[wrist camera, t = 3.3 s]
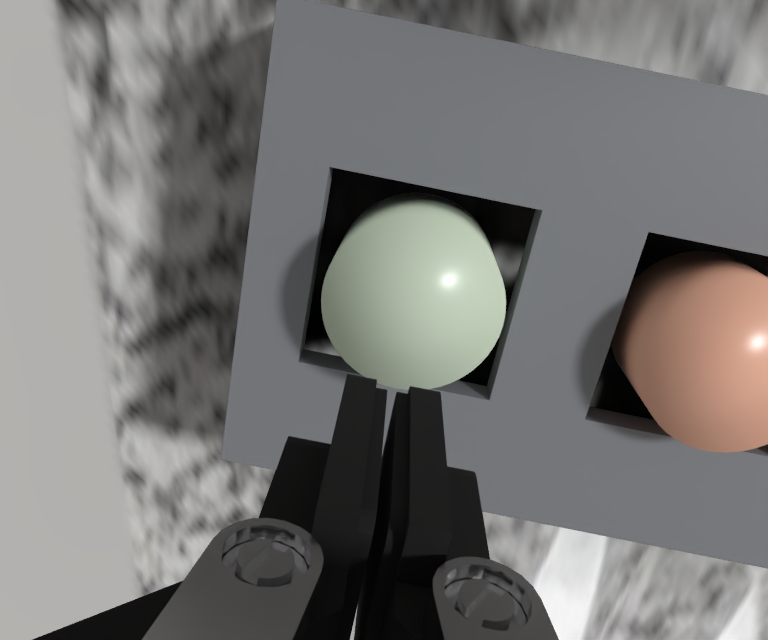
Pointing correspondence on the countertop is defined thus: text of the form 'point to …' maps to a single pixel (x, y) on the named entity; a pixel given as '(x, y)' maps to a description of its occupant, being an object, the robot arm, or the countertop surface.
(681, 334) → the terracotta button
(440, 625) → the robot arm
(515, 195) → the button box
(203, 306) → the countertop surface
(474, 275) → the sage button
